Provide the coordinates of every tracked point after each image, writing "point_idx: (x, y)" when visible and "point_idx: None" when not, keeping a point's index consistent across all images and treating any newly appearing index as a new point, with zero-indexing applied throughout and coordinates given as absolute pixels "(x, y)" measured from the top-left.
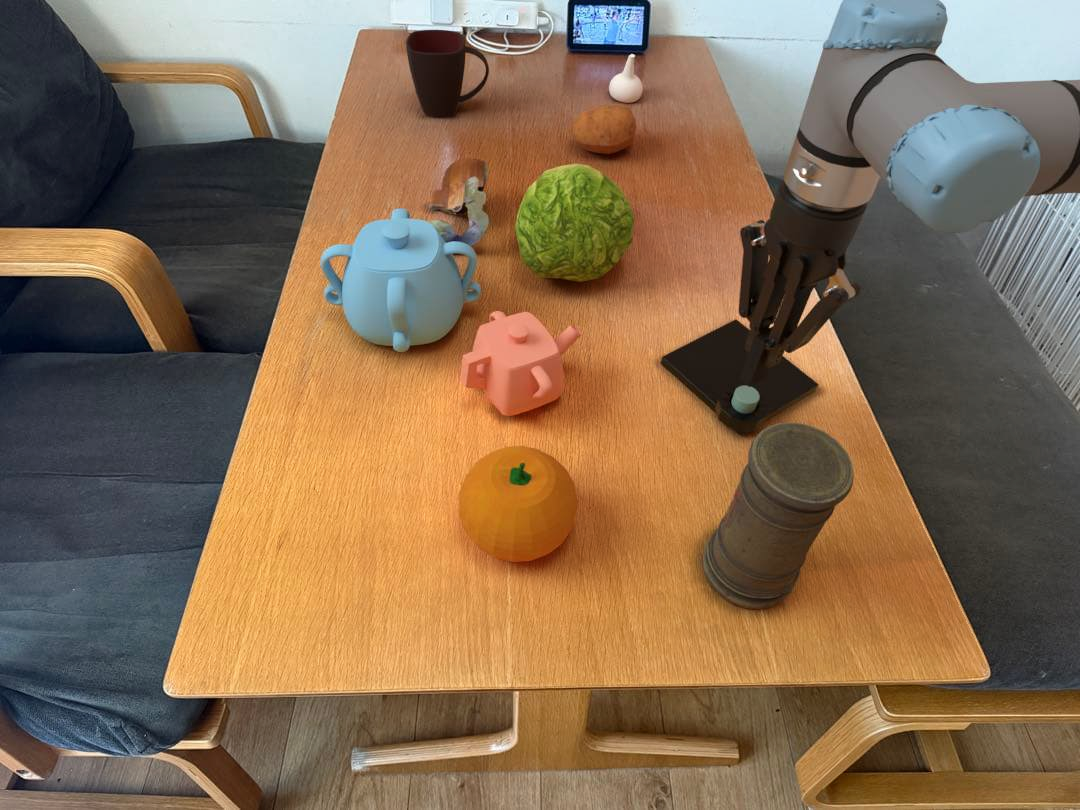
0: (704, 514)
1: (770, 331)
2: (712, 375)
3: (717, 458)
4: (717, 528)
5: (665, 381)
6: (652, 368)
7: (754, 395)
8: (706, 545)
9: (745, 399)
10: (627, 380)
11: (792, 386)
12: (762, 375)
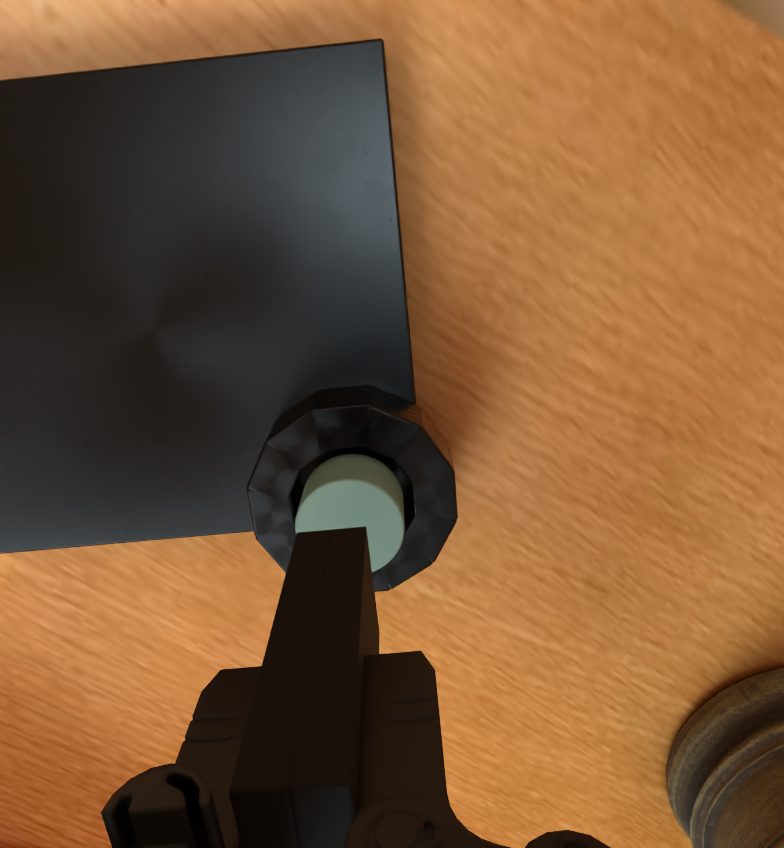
0: (591, 750)
1: (273, 838)
2: (141, 448)
3: (458, 615)
4: (694, 838)
5: (91, 569)
6: (16, 572)
7: (370, 509)
8: (686, 833)
9: (369, 552)
10: (44, 668)
11: (336, 177)
12: (370, 587)
